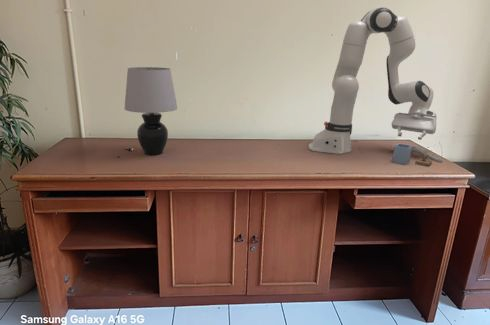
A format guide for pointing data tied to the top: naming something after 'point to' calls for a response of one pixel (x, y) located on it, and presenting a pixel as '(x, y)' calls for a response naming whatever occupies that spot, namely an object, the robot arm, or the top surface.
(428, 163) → the post stand
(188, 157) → the top surface
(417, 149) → the adjustable wrench
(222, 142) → the top surface
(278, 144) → the top surface
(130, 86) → the lamp
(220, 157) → the top surface
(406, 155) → the collar
